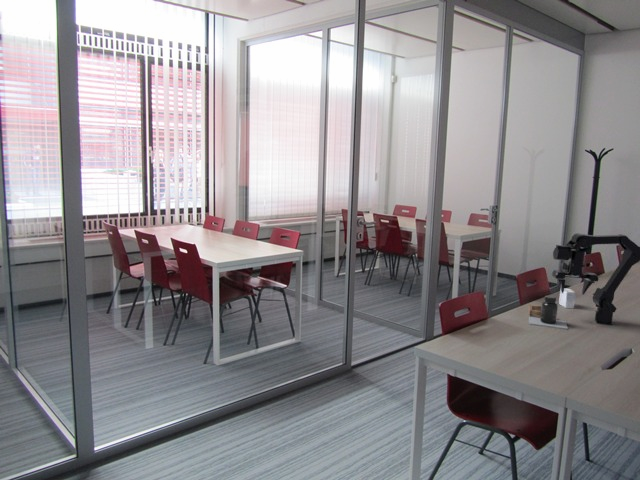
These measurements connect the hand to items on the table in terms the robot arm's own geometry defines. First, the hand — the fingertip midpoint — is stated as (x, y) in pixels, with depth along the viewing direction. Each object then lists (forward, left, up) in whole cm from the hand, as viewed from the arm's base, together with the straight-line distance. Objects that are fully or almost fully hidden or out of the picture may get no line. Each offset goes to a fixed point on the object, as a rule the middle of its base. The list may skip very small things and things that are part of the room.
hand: (572, 293), depth 239 cm
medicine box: (-1, -26, -13) cm, 30 cm away
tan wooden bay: (+12, -3, -13) cm, 18 cm away
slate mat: (+10, +10, -13) cm, 19 cm away
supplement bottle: (+10, +9, -13) cm, 19 cm away
